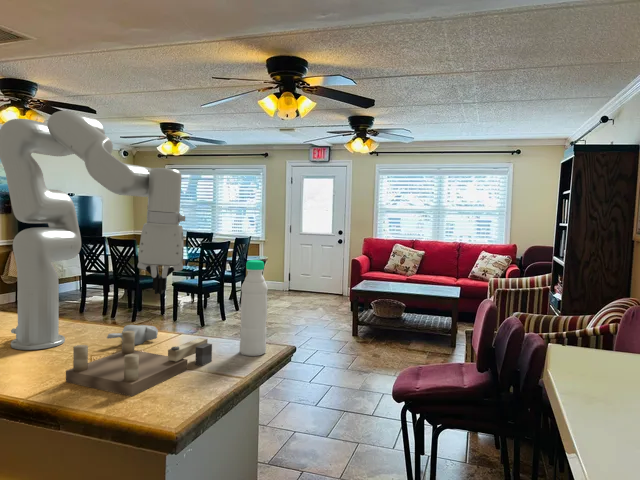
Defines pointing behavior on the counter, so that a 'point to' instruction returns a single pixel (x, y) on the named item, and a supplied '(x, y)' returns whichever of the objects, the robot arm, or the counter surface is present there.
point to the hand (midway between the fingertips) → (159, 293)
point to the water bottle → (253, 310)
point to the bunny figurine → (138, 333)
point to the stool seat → (128, 368)
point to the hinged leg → (185, 349)
